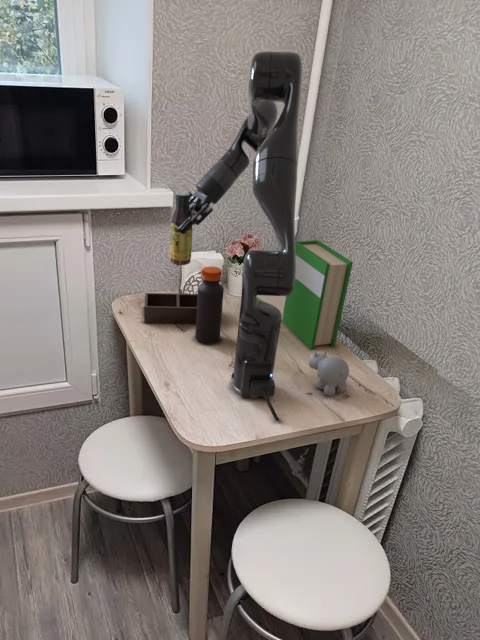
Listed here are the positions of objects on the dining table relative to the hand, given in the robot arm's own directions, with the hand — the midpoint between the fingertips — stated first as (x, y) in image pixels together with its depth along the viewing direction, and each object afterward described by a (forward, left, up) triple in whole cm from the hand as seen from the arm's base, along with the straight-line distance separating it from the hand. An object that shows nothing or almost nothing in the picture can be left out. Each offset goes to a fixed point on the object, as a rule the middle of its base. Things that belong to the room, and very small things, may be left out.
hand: (176, 228), depth 147 cm
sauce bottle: (+1, -2, -11) cm, 11 cm away
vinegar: (-20, -9, -25) cm, 33 cm away
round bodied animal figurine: (-42, -36, -25) cm, 60 cm away
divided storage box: (-6, -1, -24) cm, 25 cm away
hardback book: (-15, -38, -25) cm, 48 cm away
